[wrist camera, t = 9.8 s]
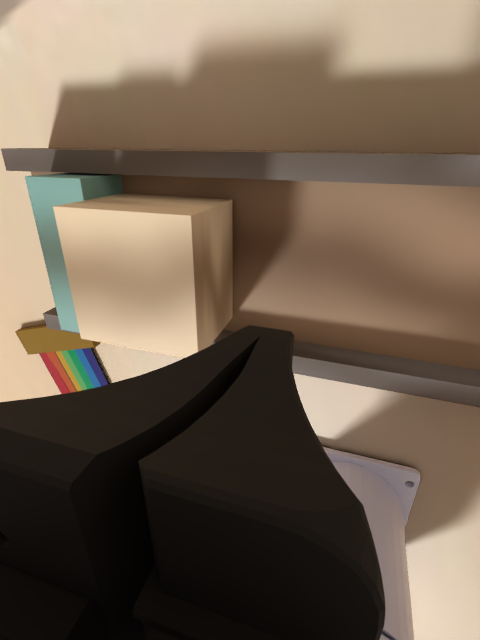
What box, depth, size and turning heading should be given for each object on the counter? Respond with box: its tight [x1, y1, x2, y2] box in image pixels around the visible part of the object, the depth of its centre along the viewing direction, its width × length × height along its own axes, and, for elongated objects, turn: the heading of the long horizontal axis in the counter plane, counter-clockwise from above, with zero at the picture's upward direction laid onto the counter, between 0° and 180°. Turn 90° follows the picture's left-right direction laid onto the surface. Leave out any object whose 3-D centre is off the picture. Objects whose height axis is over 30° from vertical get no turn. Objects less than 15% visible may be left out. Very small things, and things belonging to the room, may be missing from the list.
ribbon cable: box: [15, 325, 108, 394], centre depth 36 cm, size 29×1×30 cm
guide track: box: [1, 148, 480, 407], centre depth 17 cm, size 10×30×4 cm, turn 90°
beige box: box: [53, 194, 233, 358], centre depth 17 cm, size 6×6×4 cm
